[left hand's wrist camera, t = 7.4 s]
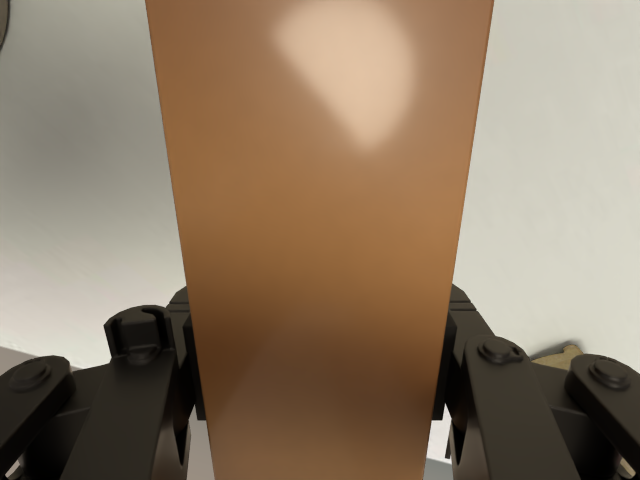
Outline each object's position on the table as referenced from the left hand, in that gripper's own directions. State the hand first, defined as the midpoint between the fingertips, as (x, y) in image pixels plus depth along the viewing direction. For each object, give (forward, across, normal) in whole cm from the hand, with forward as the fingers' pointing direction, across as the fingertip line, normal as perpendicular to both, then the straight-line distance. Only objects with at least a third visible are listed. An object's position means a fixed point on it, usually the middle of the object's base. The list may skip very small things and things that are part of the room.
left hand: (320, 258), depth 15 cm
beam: (+1, 0, -20) cm, 20 cm away
